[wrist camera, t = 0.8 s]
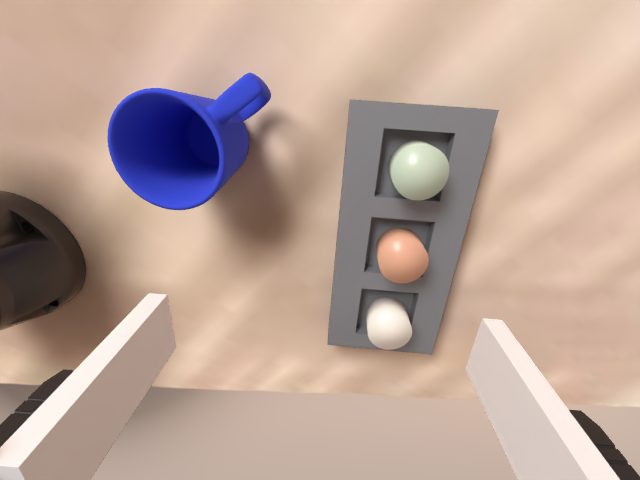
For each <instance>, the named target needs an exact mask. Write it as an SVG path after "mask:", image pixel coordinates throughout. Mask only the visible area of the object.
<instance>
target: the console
mask: <svg viewBox="0 0 640 480" xmlns="http://www.w3.org/2000/svg"><path fill="white" fill-rule="evenodd" d="M498 111H499V110H490V109H477V108H462V107H448V106H434V105H419V104H405V103H391V102H376V101H362V100H350V104H349V115H348V126H347V137H346V147H345V158H344V169H343V179H342V190H341V201H340V211H339V222H338V233H337V243H336V254H335V265H334V275H333V286H332V297H331V307H330V318H329V329H328V345H337V346H348V347H358V348H369V349H380V350H386V349H381V348H378V347H376V346H375V345H374V344H372V342H371V341H370V340H369V338H368V332H367V323H366V310H367V307H368V306H369V305H370V304H371V303H372V302H373V301H375V300H376V299H379V298H383V297H391V298H395V299H397V300H399V301H400V302H402V303H403V305H404V306H405V308H406V311H407V314H408V317H409V321H410V324H411V327H412V336H411V338H410V340H409V341H408V342H407V343H406V344H405V345H404V346H402V347H400V348H397V349H393V350H391V351H401V352H412V353H423V354H432V352H433V349H434V345H435V341H436V338H437V334H438V330H439V327H440V323H441V319H442V316H443V312H444V308H445V305H446V301H447V297H448V294H449V290H450V286H451V283H452V279H453V275H454V272H455V268H456V264H457V261H458V257H459V253H460V250H461V246H462V242H463V239H464V235H465V232H466V228H467V224H468V221H469V217H470V213H471V210H472V206H473V202H474V199H475V195H476V191H477V188H478V184H479V180H480V177H481V173H482V169H483V166H484V162H485V158H486V155H487V151H488V147H489V144H490V140H491V136H492V133H493V129H494V125H495V122H496V118H497V114H498ZM409 141H423V142H426V143H428V144H430V145H432V146H433V147H435V148H437V149H439V150H440V151H441V152H442V153H443V154H444V155H445V156H446V158H447V160H448V163H449V177H448V180H447V182H446V184H445V186H444V187H443V188H442V190H441V191H440V192H439V193H437V194H436V195H434V196H433V197H431V198H428V199H425V200H411V199H408V198H405V197H404V196H402V195H401V194H400V193H399V192H398V191H397V189H396V188H395V186H394V184H393V183H392V181H391V179H390V177H389V174H388V162H389V159H390V157H391V155H392V153H393V152H394V151H395V149H397V148H398V147H399V146H400V145H402V144H404V143H406V142H409ZM397 227H403V228H407V229H410V230H412V231H413V232H415V233H416V234H417V236H418V237H419V239H420V241H421V243H422V244H423V246H424V248H425V250H426V252H427V254H428V258H429V262H428V267H427V269H426V271H425V272H424V274H423V275H422V276H421V277H419V278H418V279H416V280H415V281H412V282H409V283H395V282H392V281H390V280H388V279H387V278H385V277H384V276H383V274H382V273H381V271H380V268H379V264H378V260H377V255H376V243H377V241H378V239H379V237H380V236H381V235H382V234H383V233H384V232H386V231H387V230H389V229H392V228H397Z"/></svg>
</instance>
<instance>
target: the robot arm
mask: <svg viewBox="0 0 640 480" xmlns="http://www.w3.org/2000/svg"><path fill="white" fill-rule="evenodd" d="M84 279H85V264H84V259H83V256H82V253H81V250H80V248H79V246H78V244H77V242H76V241H75V239H74V237H73V236H72V235H71V233H70V232H69V231H68V229H67V228H66V227H65V226H64V225H63V224H62V223H61V222H60V221H59V220H58V219H57V218H56V217H55V216H54V215H53V214H51V213H50V212H49V211H47V210H46V209H45V208H43V207H42V206H40V205H38V204H37V203H35V202H33V201H31V200H29V199H27V198H25V197H22V196H19V195H16V194H13V193H9V192H3V191H0V330H3V329H6V328H9V327H12V326H14V325H17V324H20V323H23V322H26V321H29V320H31V319H34V318H37V317H40V316H43V315H46V314H48V313H51V312H53V311H55V310H57V309H59V308H60V307H61V306H63V305H64V304H66V303H67V302H68V301H70V300H71V299H72V298H74V297H75V296H76V295H77V294H78V292H79V291H80V289H81V288H82V286H83V283H84ZM175 348H176V342H175V337H174V331H173V325H172V319H171V313H170V307H169V301H168V295H166V294H153V293H149V294H148V295H147V296H146V297H145V298H144V299H143V300H142V301H141V302H140V303H139V304H138V305H137V306H136V307H135V308H134V309H133V310H132V311H131V312H130V313H129V314H128V315H127V316H126V317H125V318H124V320H123V321H122V322H121V323H120V324H119V325H118V326H117V327H116V328H115V329H114V330H113V331H112V332H111V333H110V334H109V335H108V336H107V337H106V338H105V339H104V340H103V341H102V342H101V343H100V344H99V346H98V347H97V348H96V349H95V350H94V351H93V352H92V353H91V354H90V355H89V356H88V357H87V358H86V359H85V360H84V361H83V362H82V363H81V364H80V365H79V366H78V367H77V368H76V369H75V370H62V371H61V372H59V373H58V374H56V375H55V376H53V377H51V378H50V379H48V380H47V381H45V382H44V383H43V384H42V385H41V386H40V387H39V388H38V389H37V390H36V391H35V392H33V393H32V394H31V396H29V397H28V400H27V401H24V402H23V403H22V404H21V405H20V406H19V407H18V408H17V409H16V410H15V413H14V414H11V415H10V416H9V417H8V418H7V419H6V420H5V421H4V422H3V423H2V424H1V425H0V480H90V479H91V478H92V476H93V475H94V473H95V472H96V470H97V469H98V467H99V465H100V464H101V462H102V461H103V459H104V458H105V456H106V455H107V453H108V452H109V450H110V448H111V447H112V445H113V444H114V442H115V441H116V439H117V438H118V436H119V435H120V433H121V431H122V430H123V428H124V427H125V425H126V424H127V422H128V421H129V419H130V418H131V416H132V414H133V413H134V411H135V410H136V408H137V407H138V405H139V404H140V402H141V401H142V399H143V397H144V396H145V394H146V393H147V391H148V389H149V388H150V387H151V385H152V384H153V382H154V380H155V379H156V377H157V376H158V374H159V373H160V371H161V370H162V368H163V366H164V365H165V363H166V362H167V360H168V359H169V357H170V356H171V354H172V353H173V351H174V349H175ZM466 372H467V374H468V376H469V378H470V380H471V382H472V384H473V387H474V389H475V391H476V393H477V395H478V397H479V399H480V401H481V403H482V406H483V408H484V410H485V412H486V414H487V416H488V418H489V421H490V422H491V424H492V427H493V429H494V431H495V433H496V435H497V437H498V440H499V441H500V443H501V446H502V448H503V450H504V452H505V454H506V456H507V458H508V461H509V463H510V465H511V467H512V469H513V471H514V473H515V476H516V478H517V480H640V476H639V475H638V474H637V473H636V471H635V470H634V469H633V468H632V466H631V465H628V463H627V460H626V459H625V458H624V456H623V455H622V454H621V452H620V451H619V450H618V449H616V448H615V445H614V444H613V443H612V441H611V440H610V439H609V437H608V436H607V435H606V434H605V432H604V431H603V430H602V429H601V428H600V426H598V425H597V424H596V423H595V422H594V421H592V420H591V419H590V418H589V417H588V416H586V415H585V414H584V413H583V412H581V411H577V410H568V409H567V407H566V406H565V405H564V403H563V402H562V400H561V399H560V398H559V396H558V395H557V394H556V392H555V391H554V390H553V388H552V387H551V386H550V384H549V383H548V382H547V380H546V379H545V378H544V376H543V375H542V373H541V372H540V371H539V369H538V368H537V367H536V365H535V364H534V363H533V361H532V360H531V359H530V357H529V356H528V355H527V353H526V352H525V351H524V349H523V348H522V346H521V345H520V344H519V342H518V341H517V340H516V338H515V337H514V336H513V334H512V333H511V332H510V330H509V329H508V328H507V326H506V325H505V324H504V322H503V321H502V320H497V319H484V318H482V321H481V324H480V327H479V330H478V333H477V336H476V339H475V342H474V345H473V348H472V351H471V355H470V358H469V361H468V364H467V367H466Z"/></svg>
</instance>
